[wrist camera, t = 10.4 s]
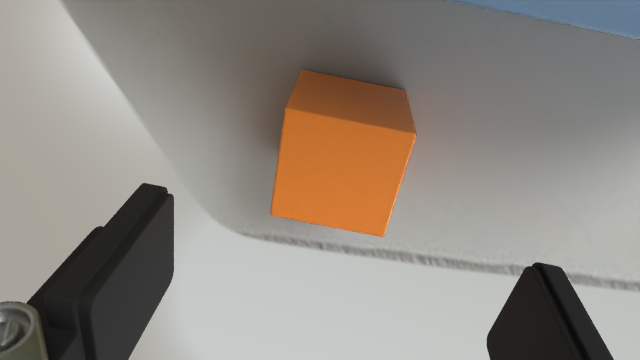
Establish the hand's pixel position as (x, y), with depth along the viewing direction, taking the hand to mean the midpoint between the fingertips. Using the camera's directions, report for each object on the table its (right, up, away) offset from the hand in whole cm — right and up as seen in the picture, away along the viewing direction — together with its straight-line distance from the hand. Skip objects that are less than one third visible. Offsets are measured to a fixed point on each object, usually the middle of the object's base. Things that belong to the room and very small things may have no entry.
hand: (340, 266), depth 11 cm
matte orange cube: (0, +5, +8) cm, 9 cm away
